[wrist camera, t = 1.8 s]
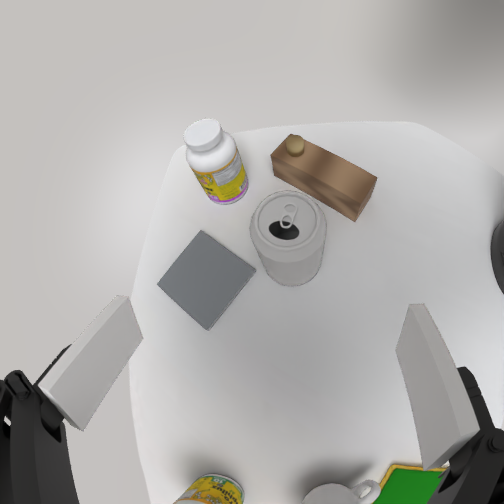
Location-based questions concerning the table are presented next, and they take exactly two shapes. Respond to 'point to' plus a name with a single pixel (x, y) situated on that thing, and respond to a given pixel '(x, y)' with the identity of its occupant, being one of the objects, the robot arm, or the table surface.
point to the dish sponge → (408, 485)
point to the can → (289, 237)
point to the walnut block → (323, 175)
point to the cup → (343, 494)
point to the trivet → (205, 279)
